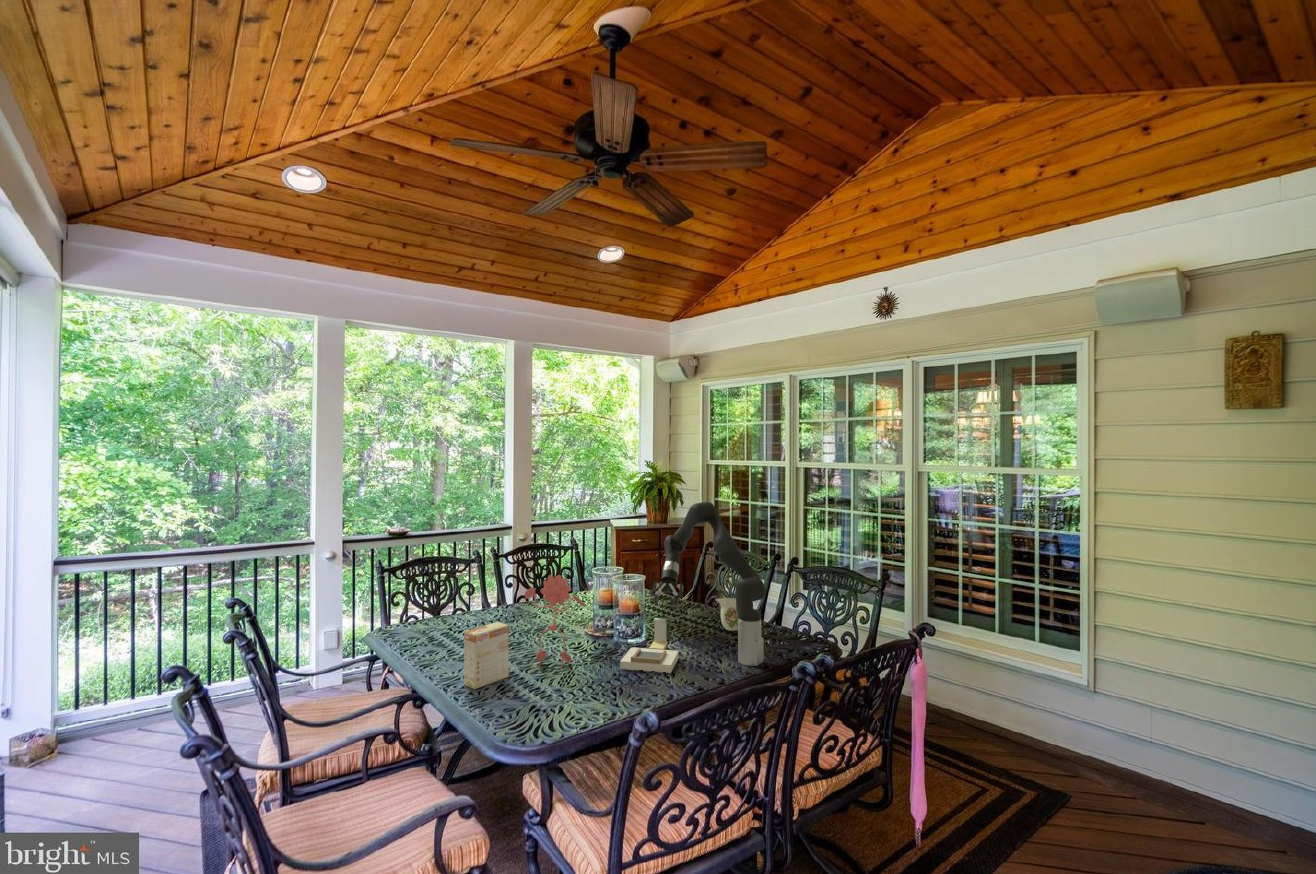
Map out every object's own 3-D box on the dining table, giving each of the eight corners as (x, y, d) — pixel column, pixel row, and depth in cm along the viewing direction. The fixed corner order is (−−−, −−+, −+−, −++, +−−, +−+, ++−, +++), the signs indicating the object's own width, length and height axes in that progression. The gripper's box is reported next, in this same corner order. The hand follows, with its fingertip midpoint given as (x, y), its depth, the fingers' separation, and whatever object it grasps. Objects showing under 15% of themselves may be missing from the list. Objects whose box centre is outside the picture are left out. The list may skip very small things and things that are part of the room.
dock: (678, 658, 238) (678, 646, 238) (670, 673, 222) (670, 660, 222) (631, 654, 243) (631, 642, 243) (620, 669, 227) (620, 656, 227)
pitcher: (754, 632, 270) (754, 603, 271) (715, 632, 272) (715, 602, 272) (752, 625, 281) (752, 597, 282) (715, 625, 283) (714, 596, 283)
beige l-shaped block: (653, 646, 252) (653, 617, 252) (668, 647, 251) (667, 618, 251) (648, 654, 243) (648, 623, 243) (663, 655, 242) (663, 624, 242)
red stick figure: (581, 671, 224) (581, 579, 226) (518, 667, 229) (518, 577, 230) (593, 658, 239) (593, 572, 241) (533, 654, 244) (534, 570, 245)
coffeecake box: (498, 672, 224) (498, 621, 224) (509, 677, 219) (509, 624, 219) (463, 684, 212) (463, 630, 212) (474, 689, 207) (474, 634, 208)
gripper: (654, 568, 272) (648, 598, 260) (684, 569, 268) (679, 600, 257) (656, 577, 277) (651, 607, 265) (686, 578, 273) (682, 609, 262)
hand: (665, 604), depth 261 cm, fingers open, 8 cm apart
